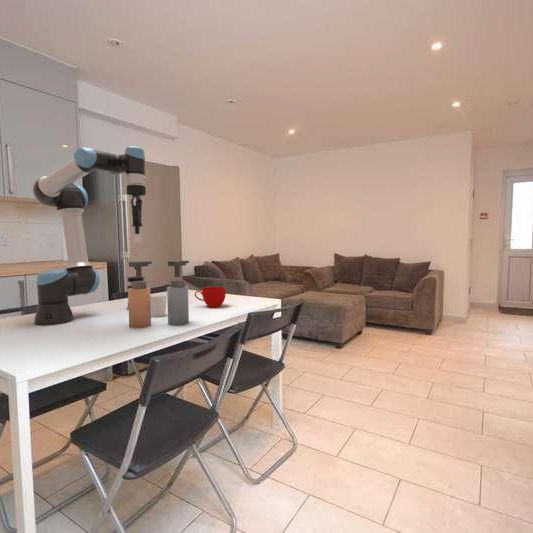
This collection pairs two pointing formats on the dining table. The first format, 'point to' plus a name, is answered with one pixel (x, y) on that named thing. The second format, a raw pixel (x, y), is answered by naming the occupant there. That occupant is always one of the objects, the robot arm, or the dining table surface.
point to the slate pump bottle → (178, 303)
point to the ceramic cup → (213, 296)
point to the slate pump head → (177, 266)
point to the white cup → (158, 305)
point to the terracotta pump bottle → (139, 305)
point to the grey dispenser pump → (139, 267)
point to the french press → (133, 279)
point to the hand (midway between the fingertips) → (137, 241)
